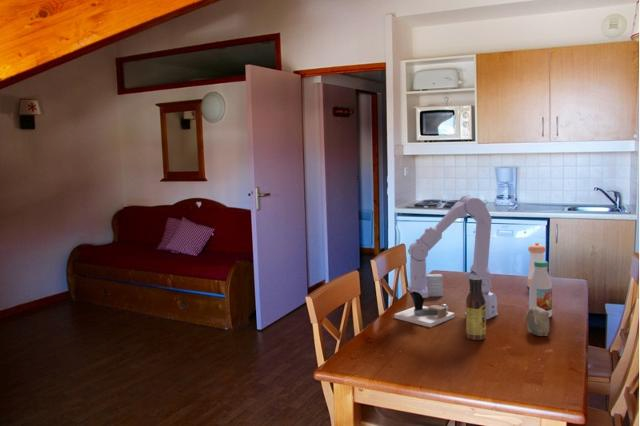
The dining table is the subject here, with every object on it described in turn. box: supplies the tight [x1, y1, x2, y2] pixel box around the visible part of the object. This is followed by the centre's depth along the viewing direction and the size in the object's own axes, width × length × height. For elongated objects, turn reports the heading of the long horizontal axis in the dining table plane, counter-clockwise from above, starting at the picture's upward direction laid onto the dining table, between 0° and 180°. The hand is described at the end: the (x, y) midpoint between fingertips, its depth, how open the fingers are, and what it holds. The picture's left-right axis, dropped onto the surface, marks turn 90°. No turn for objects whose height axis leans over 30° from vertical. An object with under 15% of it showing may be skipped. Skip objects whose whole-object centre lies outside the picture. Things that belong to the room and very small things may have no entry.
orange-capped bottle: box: [527, 242, 547, 288], centre depth 241 cm, size 7×7×19 cm
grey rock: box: [525, 306, 550, 337], centre depth 185 cm, size 9×8×10 cm
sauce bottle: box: [465, 277, 487, 341], centre depth 183 cm, size 7×6×20 cm
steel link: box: [414, 303, 449, 315], centre depth 205 cm, size 13×3×3 cm, turn 95°
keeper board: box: [394, 304, 456, 328], centre depth 206 cm, size 16×15×5 cm
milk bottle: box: [528, 260, 553, 318], centre depth 203 cm, size 8×8×20 cm
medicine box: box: [426, 273, 444, 298], centre depth 234 cm, size 8×4×9 cm, turn 84°
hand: (418, 311), depth 206 cm, fingers closed, pressing on steel link
